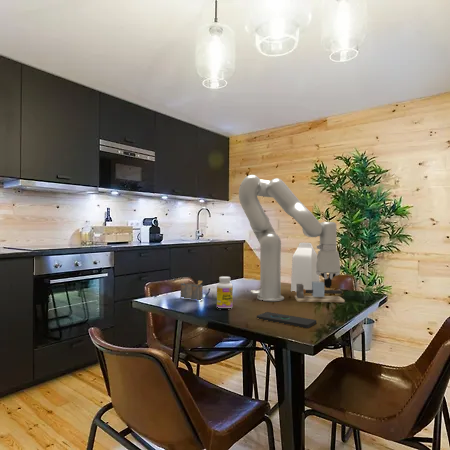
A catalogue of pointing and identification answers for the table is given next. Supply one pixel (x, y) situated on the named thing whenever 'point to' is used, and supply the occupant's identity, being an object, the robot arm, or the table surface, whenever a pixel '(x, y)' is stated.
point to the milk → (304, 267)
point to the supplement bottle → (224, 293)
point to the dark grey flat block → (287, 319)
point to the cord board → (317, 299)
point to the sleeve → (318, 289)
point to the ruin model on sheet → (192, 290)
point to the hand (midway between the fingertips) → (327, 287)
